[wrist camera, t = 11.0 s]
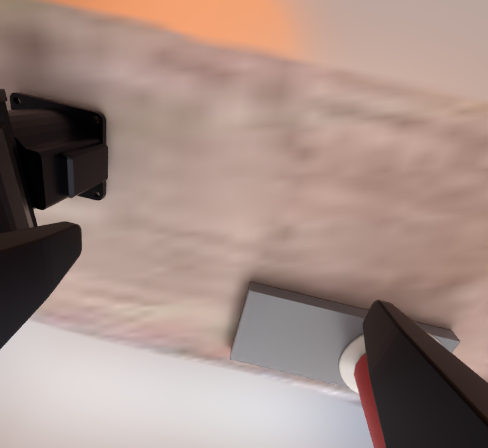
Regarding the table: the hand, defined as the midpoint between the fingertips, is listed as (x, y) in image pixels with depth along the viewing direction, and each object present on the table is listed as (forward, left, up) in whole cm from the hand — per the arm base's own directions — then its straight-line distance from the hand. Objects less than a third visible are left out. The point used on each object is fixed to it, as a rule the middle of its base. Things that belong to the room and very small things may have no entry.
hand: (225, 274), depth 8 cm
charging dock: (+11, -14, -13) cm, 22 cm away
